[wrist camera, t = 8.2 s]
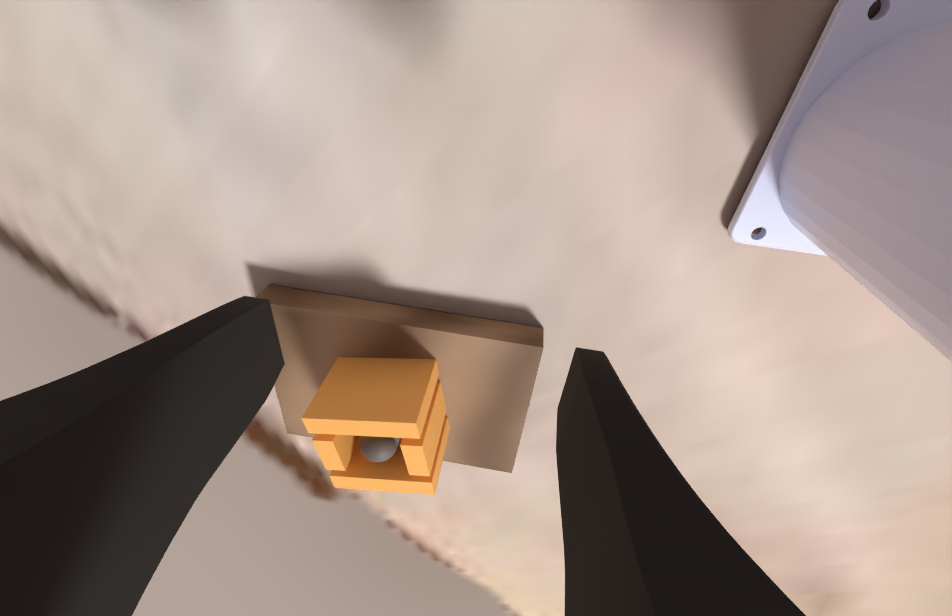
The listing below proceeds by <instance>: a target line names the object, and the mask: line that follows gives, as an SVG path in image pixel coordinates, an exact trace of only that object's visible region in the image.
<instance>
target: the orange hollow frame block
mask: <svg viewBox="0 0 952 616" xmlns="http://www.w3.org/2000/svg"><path fill="white" fill-rule="evenodd" d="M438 376H439V371H438V366H437V361H436V359H402V358H348V357H338V358H337V360H336V361H335V363H334V365H333V366H332V368H331V370H330V371H329V373H328V375H327V376H326V378H325V380H324V381H323V383H322V385H321V386H320V388H319V390H318V391H317V393H316V395H315V396H314V398H313V400H312V401H311V403H310V405H309V406H308V408H307V410H306V411H305V413H304V415H303V416H302V418H301V419H302V421H303V423H304V425H305V427H306V429H307V431H308V433H314V434H315V436H314V438H313V440H312V441H313V443H314V445H315V448H316V450H317V452H318V454H319V456H320V458H321V460H322V462H323V464H324V466H325V468H326V470H332V471H331V473H330V475H329V476H330V478H331V481H332V483H333V485H334V487H335V488H347V489H361V490H375V491H389V492H402V493H416V494H430V495H435V491H436V487H437V483H438V478H439V474H440V470H441V465H442V461H443V456H444V452H445V448H446V443H447V439H448V435H449V430H450V427H449V422H448V417H445V414H446V407H445V402H444V396H443V391H442V386H441V381H437V379H438ZM361 436H373V437H393V438H400V440H399V443H398V446H397V449H396V451H395V453H394V454H393V456H392V457H391V458H389V459H388V460H386V461H383V462H372V461H369V460H368V459H366V458H365V457H364V456H363V454H362V452H361V450H360V439H361Z"/></svg>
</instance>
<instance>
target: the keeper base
mask: <svg viewBox="0 0 952 616" xmlns="http://www.w3.org/2000/svg"><path fill="white" fill-rule="evenodd" d="M256 298H261V299H267V300H269V301H270V305H271V309H272V313H273V317H274V322H275V326H276V330H277V334H278V338H279V342H280V346H281V350H282V354H283V358H284V363H285V364H284V366H283V368H282V370H281V372H280V374H279V376H278V378H277V380H276V382H275V388H276V392H277V396H278V399H279V403H280V407H281V411H282V415H283V419H284V422H285V426H286V430H287V433H290V434H295V435H301V436H307V437H312V438H314V436H315V434H314V433H308V431H307V429H306V427H305V425H304V423H303V421H302V419H301V418H302V416H303V415H304V413H305V411H306V410H307V408H308V406H309V405H310V403H311V401H312V400H313V398H314V396H315V395H316V393H317V391H318V390H319V388H320V386H321V385H322V383H323V381H324V380H325V378H326V376H327V375H328V373H329V371H330V370H331V368H332V366H333V365H334V363H335V361H336V360H337V358H338V357H348V358H402V359H436V361H437V366H438V371H439V376H438V379H437V381H441V386H442V391H443V396H444V402H445V407H446V414H445V417H448V422H449V427H450V430H449V435H448V439H447V443H446V448H445V452H444V456H443V461H447V462H453V463H459V464H464V465H470V466H475V467H481V468H487V469H492V470H498V471H504V472H509V473H512V470H513V466H514V462H515V458H516V454H517V450H518V446H519V442H520V438H521V434H522V430H523V426H524V422H525V418H526V414H527V410H528V406H529V402H530V398H531V395H532V391H533V387H534V383H535V379H536V375H537V371H538V367H539V363H540V359H541V355H542V351H543V328H540V327H534V326H527V325H521V324H515V323H509V322H502V321H496V320H490V319H484V318H477V317H471V316H465V315H458V314H452V313H446V312H440V311H433V310H427V309H421V308H414V307H408V306H402V305H396V304H389V303H383V302H377V301H370V300H364V299H358V298H352V297H345V296H339V295H333V294H326V293H320V292H314V291H308V290H301V289H295V288H289V287H282V286H276V285H270V284H269V285H268V286H267V287H266V288H265V289H264V290H263V291H262V292H261V293H260V294H259V295H258V296H257V297H256ZM399 440H400V438H393V437H373V436H361V439H360V450H361V452H362V454H363V456H364V457H365V458H366V459H368V460H369V461H372V462H383V461H386V460H388V459H389V458H391V457H392V456H393V454H394V453H395V451H396V449H397V446H398V443H399Z"/></svg>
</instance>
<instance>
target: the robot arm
mask: <svg viewBox="0 0 952 616" xmlns="http://www.w3.org/2000/svg"><path fill="white" fill-rule="evenodd" d="M875 1H877V0H839V1H838V3H837V4H836V6H835V8H834V10H833V12H832V14H831V16H830V18H829V20H828V22H827V24H826V26H825V29H824V31H823V33H822V35H821V37H820V39H819V41H818V43H817V45H816V47H815V49H814V51H813V53H812V55H811V57H810V59H809V61H808V64H807V66H806V68H805V70H804V72H803V74H802V76H801V78H800V80H799V82H798V84H797V86H796V88H795V90H794V92H793V94H792V97H791V99H790V101H789V103H788V105H787V107H786V109H785V111H784V113H783V115H782V117H781V119H780V121H779V123H778V125H777V127H776V129H775V132H774V134H773V136H772V138H771V140H770V142H769V144H768V146H767V148H766V150H765V152H764V154H763V156H762V158H761V160H760V162H759V165H758V167H757V169H756V171H755V173H754V175H753V177H752V179H751V181H750V183H749V185H748V187H747V189H746V191H745V193H744V195H743V197H742V200H741V202H740V204H739V206H738V208H737V210H736V212H735V214H734V216H733V218H732V220H731V222H730V224H729V227H728V230H727V231H728V235H729V236H730V237H731V239H732V240H733V241H734V242H737V243H742V244H749V245H756V246H763V247H770V248H777V249H784V250H791V251H797V252H804V253H811V254H818V255H825V256H829V257H830V258H831V259H832V260H833V261H834V262H836V263H837V264H838V265H839V266H840V267H841V268H843V269H844V270H845V271H846V272H847V273H848V274H850V275H851V276H852V277H853V278H854V279H855V280H857V281H858V282H859V283H860V284H861V285H862V286H864V287H865V288H866V289H867V290H868V291H869V292H871V293H872V294H873V295H874V296H875V297H876V298H878V299H879V300H880V301H881V302H882V303H883V304H885V305H886V306H887V307H888V308H889V309H890V310H892V311H893V312H894V313H895V314H896V315H897V316H899V317H900V318H901V319H902V320H903V321H904V322H906V323H907V324H908V325H909V326H910V327H911V328H913V329H914V330H915V331H916V332H917V333H918V334H919V335H921V336H922V337H923V338H924V339H925V340H926V341H928V342H929V343H930V344H931V345H932V346H933V347H935V348H936V349H937V350H938V351H939V352H940V353H942V354H943V355H944V356H945V357H946V358H947V359H949V360H950V361H951V362H952V0H880V2H881V8H880V11H879V12H878V13H877V15H876V16H875V17H873V18H872V19H869V18H868V15H867V14H868V10H869V8H870V6H871V5H872V4H873V3H874V2H875ZM759 227H762V230H761V231H760V233H759V234H757V235H753V236H751V233H752V231H753V230H754V229H756V228H759ZM284 364H285V363H284V358H283V354H282V350H281V346H280V342H279V338H278V334H277V330H276V326H275V322H274V317H273V313H272V309H271V305H270V301H269V300H267V299H261V298H254V297H248V296H243V297H241V298H238V299H236V300H233V301H231V302H229V303H226V304H224V305H222V306H220V307H218V308H216V309H213V310H211V311H209V312H207V313H205V314H203V315H201V316H199V317H197V318H194V319H192V320H190V321H188V322H186V323H184V324H182V325H180V326H178V327H176V328H174V329H171V330H169V331H167V332H165V333H163V334H161V335H159V336H157V337H155V338H153V339H150V340H148V341H146V342H144V343H142V344H140V345H137V346H135V347H133V348H131V349H128V350H126V351H124V352H122V353H119V354H117V355H115V356H113V357H110V358H108V359H106V360H103V361H101V362H99V363H97V364H94V365H92V366H90V367H88V368H85V369H83V370H81V371H78V372H76V373H73V374H71V375H68V376H66V377H63V378H61V379H58V380H56V381H53V382H51V383H48V384H45V385H43V386H40V387H37V388H34V389H32V390H30V391H26V392H24V393H21V394H19V395H16V396H13V397H10V398H7V399H4V400H2V401H0V616H132V614H133V612H134V610H135V608H136V606H137V604H138V602H139V600H140V598H141V596H142V594H143V593H144V591H145V589H146V587H147V585H148V583H149V581H150V580H151V578H152V576H153V574H154V572H155V570H156V569H157V567H158V565H159V563H160V561H161V559H162V558H163V556H164V554H165V552H166V550H167V548H168V546H169V545H170V543H171V541H172V539H173V537H174V536H175V534H176V533H177V531H178V529H179V527H180V526H181V524H182V522H183V521H184V519H185V517H186V516H187V514H188V512H189V510H190V509H191V507H192V505H193V504H194V502H195V500H196V499H197V497H198V495H199V494H200V493H201V491H202V490H203V488H204V487H205V485H206V484H207V482H208V481H209V479H210V478H211V477H212V475H213V474H214V472H215V471H216V470H217V468H218V467H219V466H220V464H221V463H222V461H223V460H224V459H225V457H226V455H227V454H228V453H229V452H230V450H231V449H232V447H233V446H234V444H235V443H236V442H237V440H238V439H239V438H240V436H241V435H242V433H243V432H244V431H245V429H246V428H247V426H248V425H249V424H250V422H251V421H252V419H253V418H254V417H255V415H256V414H257V412H258V411H259V409H260V408H261V406H262V405H263V404H264V402H265V401H266V399H267V397H268V395H269V393H270V392H271V390H272V388H273V386H274V384H275V382H276V380H277V378H278V376H279V374H280V372H281V370H282V368H283V366H284ZM556 454H557V468H558V480H559V493H560V505H561V517H562V529H563V541H564V557H565V616H806V615H805V614H804V613H803V612H802V611H801V610H800V609H799V608H798V607H797V606H796V605H795V604H794V603H793V602H792V601H791V600H790V599H789V598H788V597H787V596H786V595H785V594H784V593H783V592H782V591H781V590H780V588H779V587H778V586H777V585H776V584H775V583H774V582H773V581H772V580H771V579H770V578H769V577H768V576H767V575H766V574H765V572H764V571H763V570H762V569H761V568H760V567H759V566H758V565H757V564H756V563H755V562H754V561H753V560H752V559H751V558H750V556H749V555H748V554H747V553H746V552H745V551H744V550H743V549H742V548H741V547H740V545H739V544H738V543H737V542H736V541H735V540H734V539H733V537H732V536H731V535H730V534H729V533H728V532H727V531H726V529H725V528H724V527H723V526H722V525H721V523H720V522H719V521H718V520H717V519H716V517H715V516H714V515H713V514H712V513H711V511H710V510H709V509H708V508H707V507H706V505H705V504H704V503H703V502H702V500H701V499H700V498H699V497H698V495H697V494H696V493H695V491H694V490H693V489H692V488H691V486H690V485H689V484H688V482H687V481H686V480H685V478H684V477H683V476H682V474H681V473H680V472H679V470H678V469H677V467H676V466H675V465H674V463H673V462H672V460H671V459H670V458H669V456H668V455H667V453H666V452H665V451H664V449H663V448H662V446H661V445H660V443H659V442H658V440H657V439H656V437H655V436H654V434H653V433H652V431H651V430H650V428H649V427H648V425H647V423H646V422H645V420H644V419H643V417H642V416H641V414H640V413H639V411H638V409H637V408H636V406H635V405H634V403H633V401H632V400H631V398H630V396H629V395H628V393H627V391H626V390H625V388H624V386H623V384H622V383H621V381H620V379H619V377H618V376H617V374H616V372H615V370H614V369H613V367H612V365H611V363H610V362H609V360H608V358H607V356H606V355H605V353H604V352H602V351H595V350H589V349H582V348H576V349H575V352H574V356H573V359H572V362H571V366H570V369H569V372H568V376H567V379H566V382H565V386H564V389H563V392H562V396H561V399H560V402H559V406H558V411H557V438H556Z"/></svg>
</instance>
